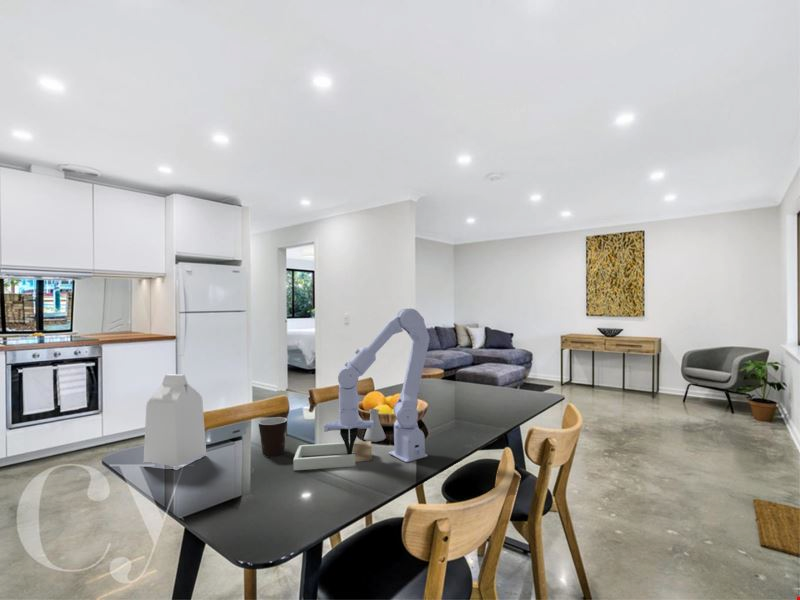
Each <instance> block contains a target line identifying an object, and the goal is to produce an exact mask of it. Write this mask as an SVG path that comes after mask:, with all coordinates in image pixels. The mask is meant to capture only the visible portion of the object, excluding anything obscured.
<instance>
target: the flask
mask: <svg viewBox="0 0 800 600" xmlns="http://www.w3.org/2000/svg"><path fill="white" fill-rule="evenodd" d="M368 412H369V420H368V421H373V422H374V429H370V428H366V431H365V433H364V437H363V440H365V442H366V441H371V443H377V442H382V441H384V440H385V439H386V438H387V437H386V434H385V432H384V431H385V430H384V429H383V426H382V425H381V424H382V423H381V421H380V416H379V412H380V409H378V408H371V409H369V410H368Z"/></svg>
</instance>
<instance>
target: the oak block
mask: <svg viewBox="0 0 800 600" xmlns="http://www.w3.org/2000/svg"><path fill="white" fill-rule="evenodd" d="M353 454H355V463H356V462H367V461H372V460H373V459H372V457H373V456H372V442H371V441H366V440H365V441H355V442H354V453H353Z"/></svg>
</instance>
